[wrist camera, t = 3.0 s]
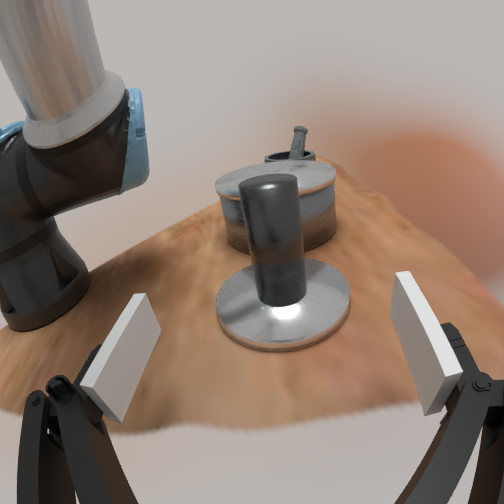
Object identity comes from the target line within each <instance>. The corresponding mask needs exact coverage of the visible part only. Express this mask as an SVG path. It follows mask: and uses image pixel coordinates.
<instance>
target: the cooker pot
mask: <svg viewBox="0 0 504 504" xmlns="http://www.w3.org/2000/svg"><path fill="white" fill-rule="evenodd" d="M276 173H284V174H291V175H294V176H296V177H297V182H298V191H299V201H300V211H301V221H302V233H303V244H304V252H306V251H309V250H312V249H314V248H317V247H319V246H321V245H323V244H324V243H326V242H327V241H329V240H330V239H331V238H332V237H333V235H334V234H335V232H336V210H335V192H334V181H335V180H336V172H335V168H334V167H333V166H332V165H330V164H327V163H323V162H318V161H309V160H287V161H276V162H268V163H262V164H257V165H252V166H248V167H244V168H241V169H238V170H235V171H232V172H230V173H227V174H225V175H223V176H222V177H220V178H219V179H218V180H217V181H216V182H215V187H216V192H217V194H218V195H219V196H220V200H221V205H222V210H223V215H224V220H225V225H226V229H227V234H228V239H229V242H230V244H231V245H232V246H233V247H234V248H235V249H237V250H238V251H241V252H243V253H247V254H250V250H249V244H248V239H247V233H246V228H245V222H244V216H243V211H242V205H241V200H240V194H239V188H238V184H239V183H240V182H242V181H244V180H246V179H249V178H252V177H255V176H260V175H265V174H276Z"/></svg>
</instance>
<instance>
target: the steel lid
mask: <svg viewBox="0 0 504 504" xmlns="http://www.w3.org/2000/svg"><path fill="white" fill-rule="evenodd" d="M238 188H239V194H240V200H241V205H242V211H243V216H244V222H245V228H246V233H247V239H248V244H249V250H250V256H251V261H252V265H250V266H248V267H246V268H244V269H242V270H240V271H238V272H237V273H235V274H234V275H232V276H231V277H230V278H229V279H228V280H227V281H226V282H225V283H224V284H223V285H222V287H221V288H220V290H219V292H218V294H217V297H216V310H217V313H218V317H219V320H220V323H221V326H222V328H223V329H224V331H225V332H226V334H227V335H228V336H229V337H230V338H232V339H233V340H234V341H236V342H237V343H239V344H241V345H243V346H246V347H248V348H251V349H255V350H259V351H265V352H289V351H295V350H300V349H304V348H307V347H310V346H313V345H315V344H317V343H320V342H321V341H323V340H325V339H327V338H328V337H329V336H331V335H332V334H333V333H335V332H336V331H337V330H338V329H339V328H340V326H341V325H342V324H343V322H344V321H345V319H346V317H347V314H348V311H349V298H350V290H349V285H348V282H347V280H346V279H345V277H344V276H343V275H342V273H341V272H339V271H338V270H337V269H336V268H334V267H332V266H331V265H329V264H326V263H324V262H321V261H318V260H314V259H309V258H305V257H304V244H303V233H302V221H301V211H300V201H299V191H298V182H297V177H296V176H294V175H291V174H284V173H276V174H265V175H260V176H255V177H252V178H249V179H246V180H244V181H242V182H240V183H239V184H238Z"/></svg>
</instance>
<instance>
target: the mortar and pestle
mask: <svg viewBox="0 0 504 504" xmlns="http://www.w3.org/2000/svg"><path fill="white" fill-rule="evenodd" d="M294 132H295V134H294V138H293V142H292V147H291V150H290V151H286V152H279V153H274V154H271V155H268V156H266V157H265V163H268V162H276V161H287V160H309V161H316V159H315V154H314V152H313V151H305V150H304V147H305V137H306V134H307V132H308V130H307V129H306V128H305V127H302V126H297V127H295V128H294Z"/></svg>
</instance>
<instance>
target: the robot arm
mask: <svg viewBox="0 0 504 504" xmlns="http://www.w3.org/2000/svg"><path fill="white" fill-rule="evenodd" d="M0 60H1V62H2V64H3V67H4V69H5V71H6V73H7V75H8V77H9V79H10V81H11V83H12V86H13V87H14V89H15V92H16V94H17V95H18V97H19V99H20V101H21V103H22V105H23V107H24V109H25V111H26V113H27V116H26V119H25V121H18V122H14V123H11V124H9V125H6V126H4V127H3V128H1V129H0V309H1V312H2V314H3V316H4V318H5V320H6V321H7V323H8V325H9V326H10V327H11V328H12V329H14V330H17V331H27V330H32V329H35V328H38V327H41V326H43V325H45V324H47V323H49V322H51V321H53V320H55V319H56V318H58V317H59V316H61V315H62V314H64V313H65V312H66V311H68V310H69V309H70V308H71V307H72V306H73V305H74V304H76V303H77V302H78V300H79V299H80V298H81V297H82V296H83V295H84V293H85V292H86V290H87V289H88V287H89V284H90V280H91V278H90V274H89V272H88V269H87V267H86V265H85V263H84V261H83V260H82V259H81V258H80V256H79V255H78V254H77V253H76V251H75V250H74V249H73V248H72V247H71V245H70V244H69V243H68V242H67V241H66V239H65V238H64V237H63V236H62V234H61V233H60V231H59V230H58V227H57V224H56V221H55V218H54V216H55V215H58V214H61V213H63V212H66V211H69V210H72V209H75V208H78V207H81V206H84V205H87V204H90V203H93V202H96V201H99V200H102V199H106V198H109V197H112V196H115V195H120V194H122V193H123V192H125V191H127V190H130V189H132V188H135V187H138V186H140V185H142V184H143V183H145V181H146V180H147V178H148V176H149V158H148V149H147V140H146V134H145V121H144V112H143V103H142V95H141V91H140V90H139V89H138V88H134V89H132V88H128V89H125V85H124V82H123V80H122V78H121V77H120V76H119V75H118V74H116V73H114V72H110V71H107V70H104V67H103V63H102V59H101V56H100V52H99V48H98V44H97V41H96V36H95V32H94V27H93V23H92V19H91V14H90V10H89V5H88V0H0ZM390 317H391V319H392V322H393V324H394V327H395V330H396V332H397V335H398V337H399V340H400V343H401V345H402V348H403V351H404V354H405V356H406V359H407V362H408V365H409V368H410V371H411V374H412V377H413V380H414V383H415V386H416V389H417V392H418V395H419V399H420V402H421V405H422V409H423V412H424V416H427V415H431V414H434V413H438V412H441V410H442V408H443V407H444V405H445V406H446V409H447V413H446V415H445V416H444V418H443V419H442V421H441V422H440V424H441V425H440V428H439V430H438V431H437V434H436V436H435V437H434V439H433V441H432V443H431V445H430V447H429V449H428V451H427V453H426V454H425V456H424V458H423V460H422V461H421V463H420V465H419V467H418V468H417V470H416V472H415V473H414V475H413V476H412V478H411V480H410V481H409V483H408V484H407V486H406V487H405V489H404V490H403V492H402V493H401V495H400V496H399V498H398V499H397V500H396V502H395V504H447V503H448V501H449V499H450V497H451V496H452V494H453V492H454V490H455V488H456V486H457V484H458V482H459V480H460V478H461V476H462V474H463V472H464V470H465V467H466V465H467V463H468V461H469V459H470V456H471V454H472V452H473V449H474V447H475V444H476V442H477V439H478V437H479V434H480V431H481V428H482V426H483V428H482V436H481V444H480V450H479V456H478V462H477V467H476V472H475V477H474V481H473V486H472V489H471V493H470V497H469V501H468V504H504V380H492V379H491V377H490V376H489V375H488V374H486V373H484V372H480V371H479V369H478V367H477V365H476V363H475V361H474V359H473V357H472V355H471V353H470V351H469V349H468V348H467V346H466V344H465V342H464V340H463V339H462V336H461V335H460V333H459V331H458V329H457V328H456V327H454V326H453V325H452V324H451V323H450V322H449V323H444V324H439V322H438V320H437V318H436V317H435V315H434V313H433V311H432V309H431V307H430V306H429V304H428V302H427V300H426V299H425V297H424V295H423V294H422V292H421V290H420V288H419V287H418V285H417V283H416V282H415V280H414V278H413V277H412V275H411V274H410V272H409V271H405V272H397V273H395V280H394V288H393V296H392V302H391V309H390ZM161 331H162V330H161V328H160V325H159V323H158V321H157V319H156V316H155V314H154V312H153V309H152V307H151V305H150V302H149V300H148V297H147V295H146V293H139V294H134V295H133V297H132V298H131V300H130V301H129V303H128V304H127V306H126V307H125V309H124V311H123V312H122V314H121V315H120V317H119V319H118V320H117V322H116V323H115V325H114V327H113V328H112V330H111V332H110V333H109V335H108V336H107V338H106V340H105V341H104V343H103V345H102V344H99V345H98V346H97V347H96V348H95V349H94V350H93V351H92V352H91V354H90V355H89V357H88V360H87V361H86V362H85V364H84V366H83V367H82V369H81V371H80V372H79V374H78V376H77V378H76V379H75V381H74V383H73V385H72V384H71V383H70V381H69V380H68V379H67V377H65V376H64V375H57V376H54V377H53V378H51V379H50V380H49V382H48V383H47V385H46V392H47V393H48V394H49V395H50V396H48V397H47V396H46V395H45V394H44V393H43V392H42V391H41V390H36V391H33V392H32V393H31V394H29V396H28V397H27V400H26V403H25V409H24V415H23V421H22V429H21V437H20V446H19V456H18V457H19V458H18V472H17V504H76V496H75V491H76V494H77V497H78V500H79V503H80V504H138V502H137V500H136V498H135V496H134V494H133V492H132V490H131V487H130V485H129V483H128V481H127V479H126V477H125V475H124V472H123V470H122V468H121V465H120V463H119V460H118V458H117V456H116V453H115V451H114V448H113V446H112V443H111V440H110V437H109V435H108V432H107V429H106V426H105V423H104V421H103V420H102V415H103V413H104V414H105V416H106V417H107V418H108V419H109V420H112V421H117V422H123V419H124V417H125V414H126V412H127V409H128V407H129V405H130V402H131V400H132V397H133V395H134V392H135V390H136V388H137V385H138V383H139V381H140V378H141V376H142V374H143V371H144V369H145V367H146V364H147V362H148V360H149V357H150V355H151V353H152V351H153V348H154V346H155V344H156V342H157V339H158V337H159V335H160V333H161ZM47 429H49V434H48V433H47Z"/></svg>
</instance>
